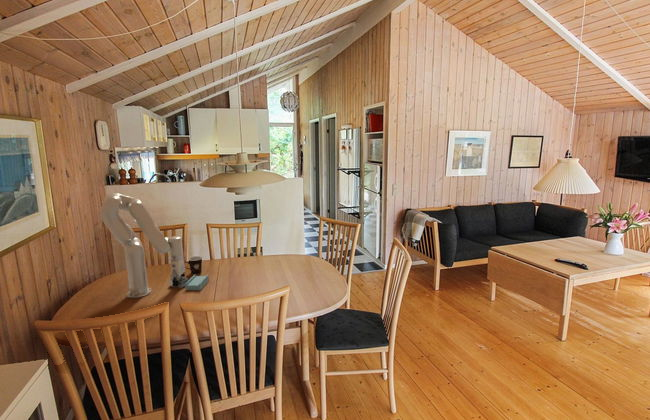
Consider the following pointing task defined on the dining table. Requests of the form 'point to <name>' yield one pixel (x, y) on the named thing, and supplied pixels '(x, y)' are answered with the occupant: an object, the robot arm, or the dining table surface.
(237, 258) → the dining table surface
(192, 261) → the coffee mug
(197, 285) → the stand
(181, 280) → the housing
